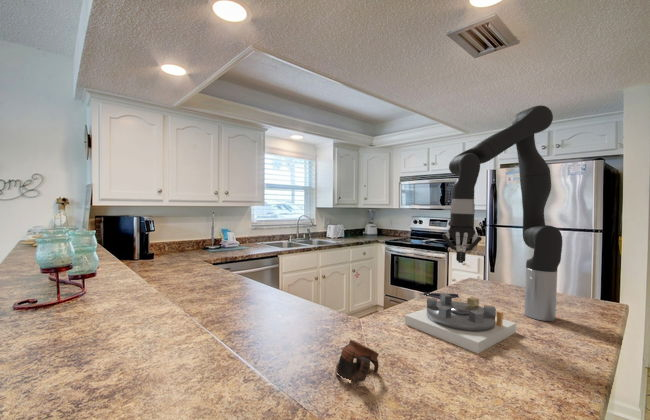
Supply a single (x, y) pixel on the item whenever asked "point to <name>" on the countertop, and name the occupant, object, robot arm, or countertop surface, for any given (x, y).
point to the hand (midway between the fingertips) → (460, 262)
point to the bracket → (439, 295)
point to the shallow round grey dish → (461, 314)
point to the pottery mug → (362, 363)
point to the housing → (465, 339)
